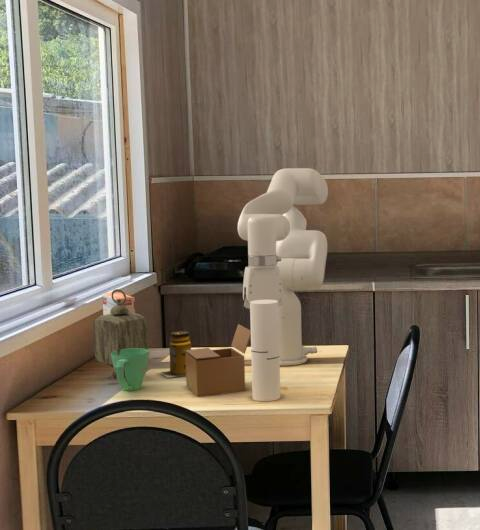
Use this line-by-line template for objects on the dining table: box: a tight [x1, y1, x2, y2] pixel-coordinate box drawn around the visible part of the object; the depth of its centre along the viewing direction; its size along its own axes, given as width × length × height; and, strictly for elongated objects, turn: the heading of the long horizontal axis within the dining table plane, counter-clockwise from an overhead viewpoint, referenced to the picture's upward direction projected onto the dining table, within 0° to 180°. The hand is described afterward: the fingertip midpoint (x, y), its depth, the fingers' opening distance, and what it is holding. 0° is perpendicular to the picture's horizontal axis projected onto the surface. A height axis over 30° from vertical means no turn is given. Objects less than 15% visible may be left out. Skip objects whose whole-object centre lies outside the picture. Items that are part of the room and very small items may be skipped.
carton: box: [185, 347, 246, 397], centre depth 237 cm, size 13×12×10 cm
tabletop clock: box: [92, 288, 149, 379], centre depth 251 cm, size 14×9×25 cm, turn 50°
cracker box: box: [102, 292, 136, 315], centre depth 269 cm, size 14×6×21 cm, turn 34°
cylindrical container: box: [249, 300, 281, 402], centre depth 227 cm, size 7×7×25 cm
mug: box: [111, 348, 150, 392], centre depth 236 cm, size 15×10×10 cm
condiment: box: [159, 330, 192, 379], centre depth 255 cm, size 7×8×12 cm
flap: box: [230, 323, 251, 354], centre depth 240 cm, size 6×12×1 cm
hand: (263, 328), depth 242 cm, fingers closed
